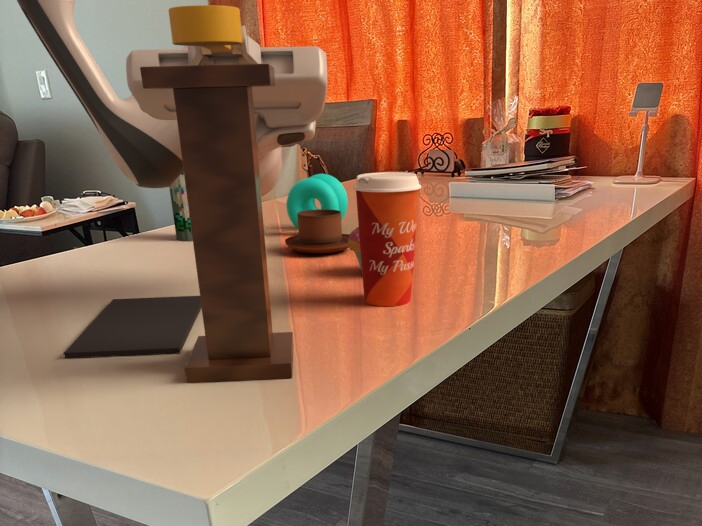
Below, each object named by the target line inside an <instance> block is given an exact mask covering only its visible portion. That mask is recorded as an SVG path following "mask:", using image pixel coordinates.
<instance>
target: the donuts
mask: <svg viewBox="0 0 702 526" xmlns="http://www.w3.org/2000/svg"><path fill="white" fill-rule="evenodd" d="M348 199H349V198H348V194H347V190H346V189H345V187H344V185H343V184H342V182H341V181H340V180H338V178H337V177H335V176H333V175H330V174H328V173H317V174H313V175H311V176H309V177H306V178H303V179H301V180H299V181H298V182H296V183H294V185H293V186H292V187H291V188H290V190H289V192H288V194H287V198H286V211H287V215H288V218H289V221H290V222H291V224H292V225H293V226H294V227H295V228H296V229H297V230H298V217H297V213H298V212H301V211H306V210H318V209H319V208H318V207H317V205H316V201H315V200H317V202H319V205H320V209H329V210H338V211H341V221H342V220H343V219H344V218H345V216H346V214H347V211H348V206H349V200H348Z"/></svg>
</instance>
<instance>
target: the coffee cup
mask: <svg viewBox="0 0 702 526" xmlns="http://www.w3.org/2000/svg"><path fill="white" fill-rule="evenodd" d="M352 189H353V190H354V191H355V194H356V195H355V196H356V211H357V221H358V222H357V223H358V227H359V238H360V251H361V264H362V271H361V274H362V276H361V277H362V286H363V287H362V288H363V296H364V302H365V303H366V304H367V305H371V306H375V307H376V306H377V307H397V306H403V305H407V304H408V303H410V302H411V297H412V289H413V276H414V262H415V251H416V235H417V222H418V221H417V220H418V205H419V190H420V189H422V185H421V184H420V181H419V178H418V176H417V174H416V173H413V172H403V171H384V172H368V173H361V174H358V175H356V181H355V185H353V188H352Z"/></svg>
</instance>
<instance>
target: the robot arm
mask: <svg viewBox="0 0 702 526" xmlns="http://www.w3.org/2000/svg"><path fill="white" fill-rule="evenodd" d="M75 1H76V0H16V2H17V4H18V6H19V7H20V9H21V11H22V12H23V14H24V16H25V18H26V19H27V22H28V23H29V24H30V26H31V28H32V29H33V31H34V33H35V34H36V36H37V38H38V39H39V41H40V42H41V44H42V46H43V47H44V49H45V50H46V52H47V53H48V55H49V56H50V58H51V59H52V61H53V63H54V65H55V66H56V67H57V69H58V70H59V72H60V74H61V75H62V76H63V78H64V79H65V81H66V83H67V84H68V86H69V87H70V89H71V91H72V92H73V94H74V95H75V97H76V98H77V100H78V101H79V103H80V104H81V106H82V107H83V109H84V111H85V112H86V114H87V115H88V117H89V119H90V120H91V122H92V123H93V125H94V126H95V128H96V130H97V131H98V133H99V135H100V138H101V139H102V141H103V143H104V146H105V148H106V149H107V152H108V154H109V155H110V157H111V159H112V160H113V163H114V164H115V165H116V167H117V168H118V169H119V171H120V172H121V173H122V174H123V175H124V176H125V177H126V178H127V179H129V181H131V182H133V184H135V185H136V186H137V187H139V188H144V189H165V188H169V187H170V186H171V185H172V184H173V182H174V181H175V180H176V179H177V178H178V177H179V176H180V174H181V173H182V172H183V171H184V169H183V161H182V154H181V146H180V139H179V131H178V123H177V116H176V108H175V100H174V93H173V89H144V88H143V85H142V78H141V71H140V67H151V66H192V65H233V64H270V65H271V66H272V67H274V75H275V86H262V87H252V94H253V106H254V117H255V129H256V141H257V153H258V165H259V177H260V189H261V198H262V197H263V196H265V195H267V194H268V193H270V192H271V191H272V190H273V189H274V188H275V186H276V185H277V183H278V181H279V179H280V176H281V173H282V166H283V152H282V151H283V150H282V147H285V146H289V145H292V144H296V143H301V142H306V141H310V140H313V138H314V137H315V135H316V128H317V127H316V126H317V120H318V119H320V117H321V116H322V115H323V112H324V109H325V105H326V100H327V95H328V61H327V60H328V59H327V53H326V52H325V51H324V50H323V49H322V48H321V47H319V46H315V45H314V46H313V45H311V46H273V47H272V46H270V47H269V46H268V47H265V46H264V47H261V45H260V44H259V43H257V41H255V40H254V39H252V38H251V37H250V36H249V35H247V30H246V26H245V25H241V32H242V44H237V45H231V47H232V52H225V53H215V52H213V51H211V50H209V49H206V48H204V47H202V46H182V48H165V49H164V48H159V49H156V48H155V49H134V50H131V51H130V52H129V54H127V57H126V59H125V70H126V71H125V72H126V85H127V87H128V90H129V91H130V93H131V95H130V96H129V97H126V98H120V97H118V95H117V94H116V92H115V90H114V89H113V87H112V85H111V84H110V82H109V81H108V79H107V78H106V76H105V74H104V73H103V71H102V69H101V68H100V66H99V65H98V63H97V61H96V60H95V58H94V56H93V55H92V53H91V52H90V50H89V48H88V47H87V45H86V44H85V42H84V40H83V38H82V37H81V35H80V33H79V31H78V29H77V26H76V23H75V17H74V9H75Z"/></svg>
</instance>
